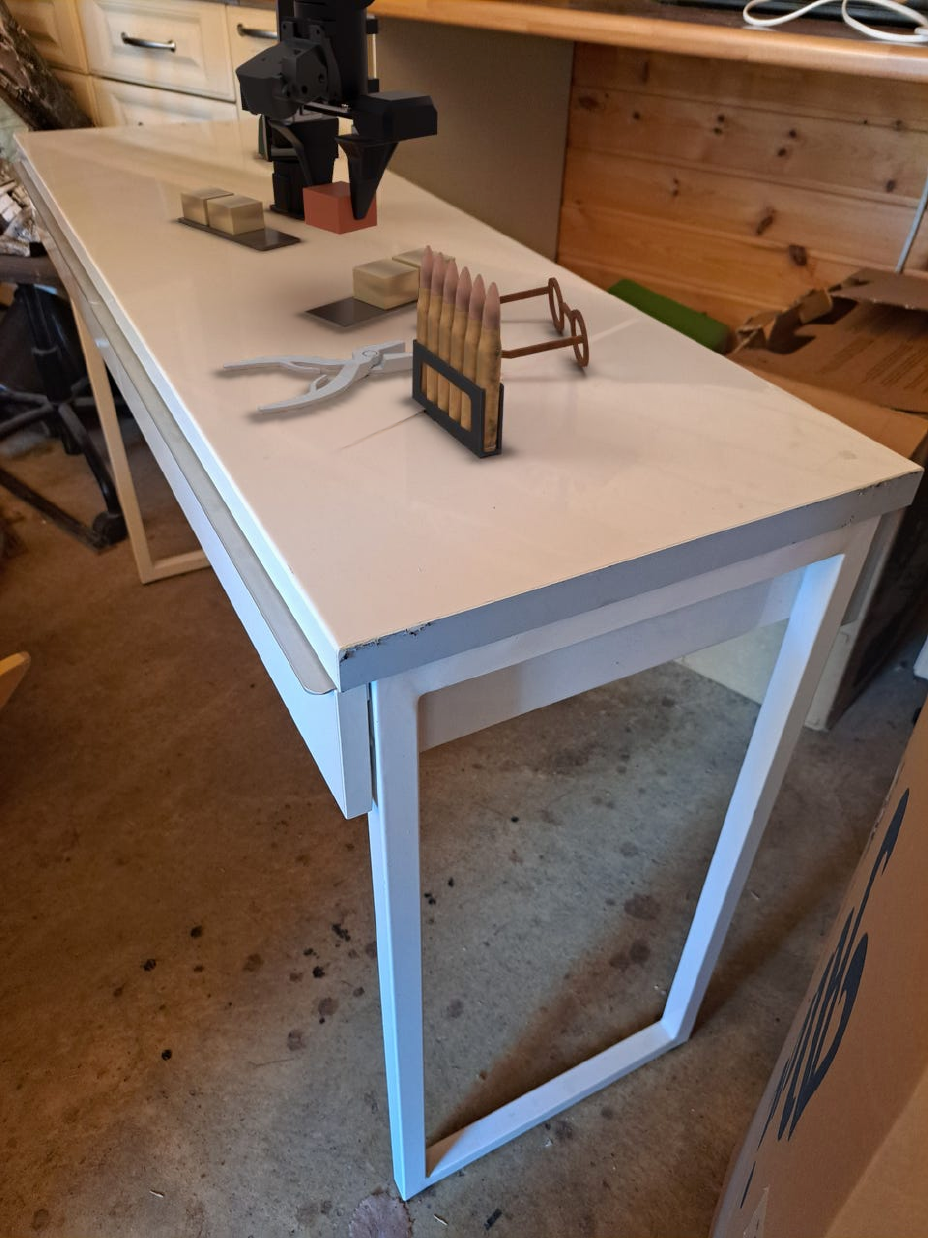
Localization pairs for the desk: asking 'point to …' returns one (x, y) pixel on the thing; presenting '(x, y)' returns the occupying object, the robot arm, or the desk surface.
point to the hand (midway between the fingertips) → (340, 213)
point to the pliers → (362, 364)
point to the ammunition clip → (459, 354)
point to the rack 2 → (379, 289)
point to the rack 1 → (231, 218)
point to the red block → (335, 209)
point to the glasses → (558, 324)
